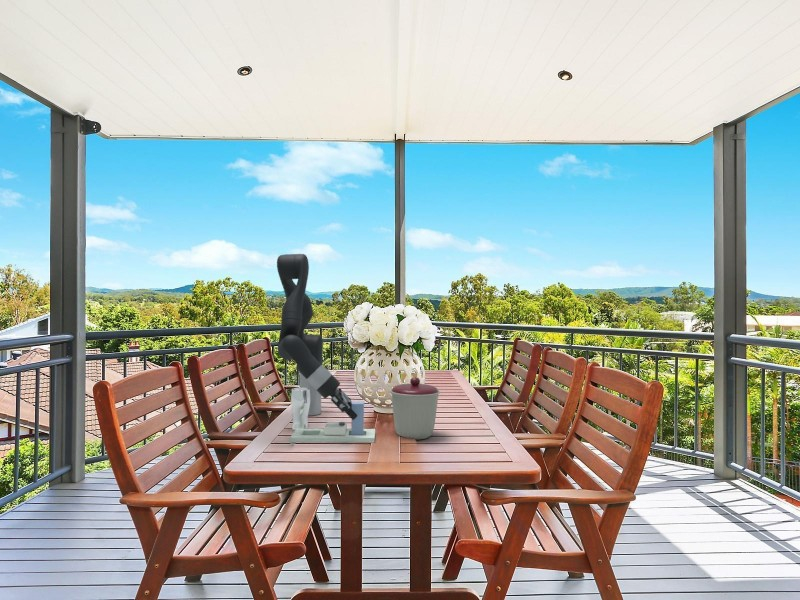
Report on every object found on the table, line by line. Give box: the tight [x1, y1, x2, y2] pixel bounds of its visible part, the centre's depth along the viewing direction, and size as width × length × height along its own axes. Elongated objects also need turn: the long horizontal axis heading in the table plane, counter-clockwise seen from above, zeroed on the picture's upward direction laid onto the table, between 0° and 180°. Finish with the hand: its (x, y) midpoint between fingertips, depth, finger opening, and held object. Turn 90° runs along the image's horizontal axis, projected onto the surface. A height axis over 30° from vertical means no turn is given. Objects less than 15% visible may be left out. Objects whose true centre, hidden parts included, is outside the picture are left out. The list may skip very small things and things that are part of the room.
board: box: [289, 427, 376, 445], centre depth 182 cm, size 12×28×2 cm, turn 92°
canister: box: [389, 377, 441, 441], centre depth 189 cm, size 18×18×21 cm
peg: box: [350, 401, 365, 436], centre depth 182 cm, size 4×4×12 cm
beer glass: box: [290, 386, 310, 431], centre depth 196 cm, size 7×7×15 cm
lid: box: [324, 421, 348, 435], centre depth 182 cm, size 7×7×3 cm
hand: (356, 415), depth 182 cm, fingers open, 8 cm apart
